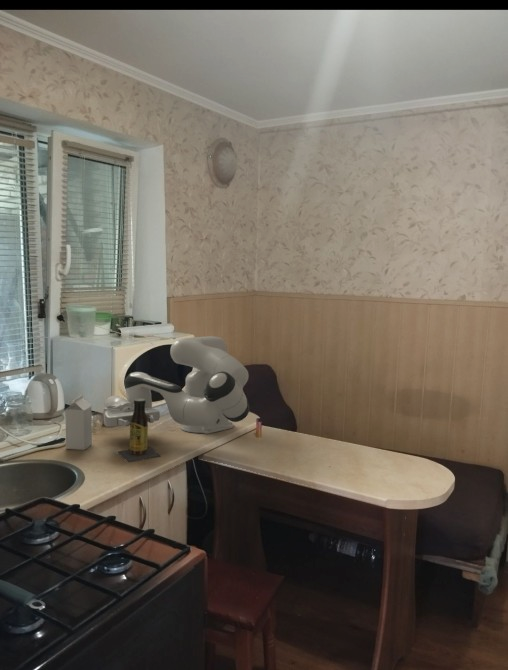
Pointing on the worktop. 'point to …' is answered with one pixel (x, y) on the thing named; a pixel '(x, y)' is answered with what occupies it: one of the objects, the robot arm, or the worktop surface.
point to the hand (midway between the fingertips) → (139, 422)
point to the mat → (131, 457)
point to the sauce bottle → (139, 428)
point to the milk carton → (78, 424)
